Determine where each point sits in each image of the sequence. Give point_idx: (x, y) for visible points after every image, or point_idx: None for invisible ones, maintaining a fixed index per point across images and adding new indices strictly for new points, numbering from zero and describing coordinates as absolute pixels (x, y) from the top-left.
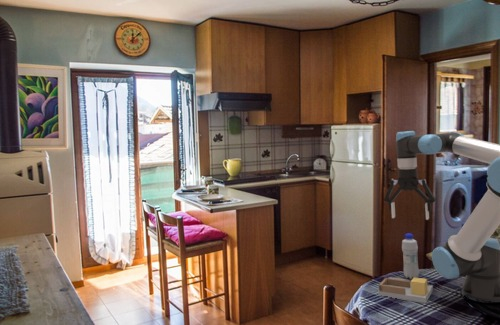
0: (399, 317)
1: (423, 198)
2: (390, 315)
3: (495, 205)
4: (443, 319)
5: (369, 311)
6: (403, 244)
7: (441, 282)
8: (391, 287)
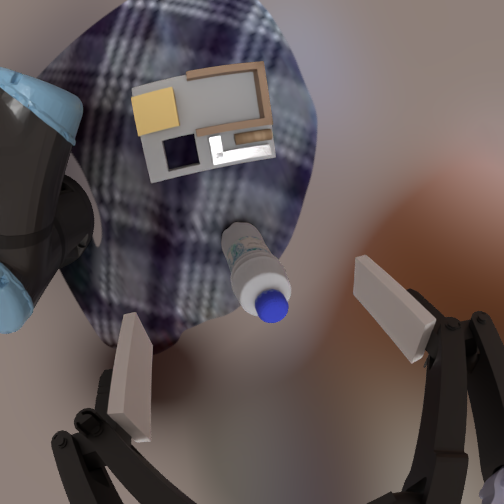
0: None
1: (136, 463)
2: None
3: None
4: (77, 42)
5: None
6: (278, 268)
7: (161, 246)
8: (225, 65)
